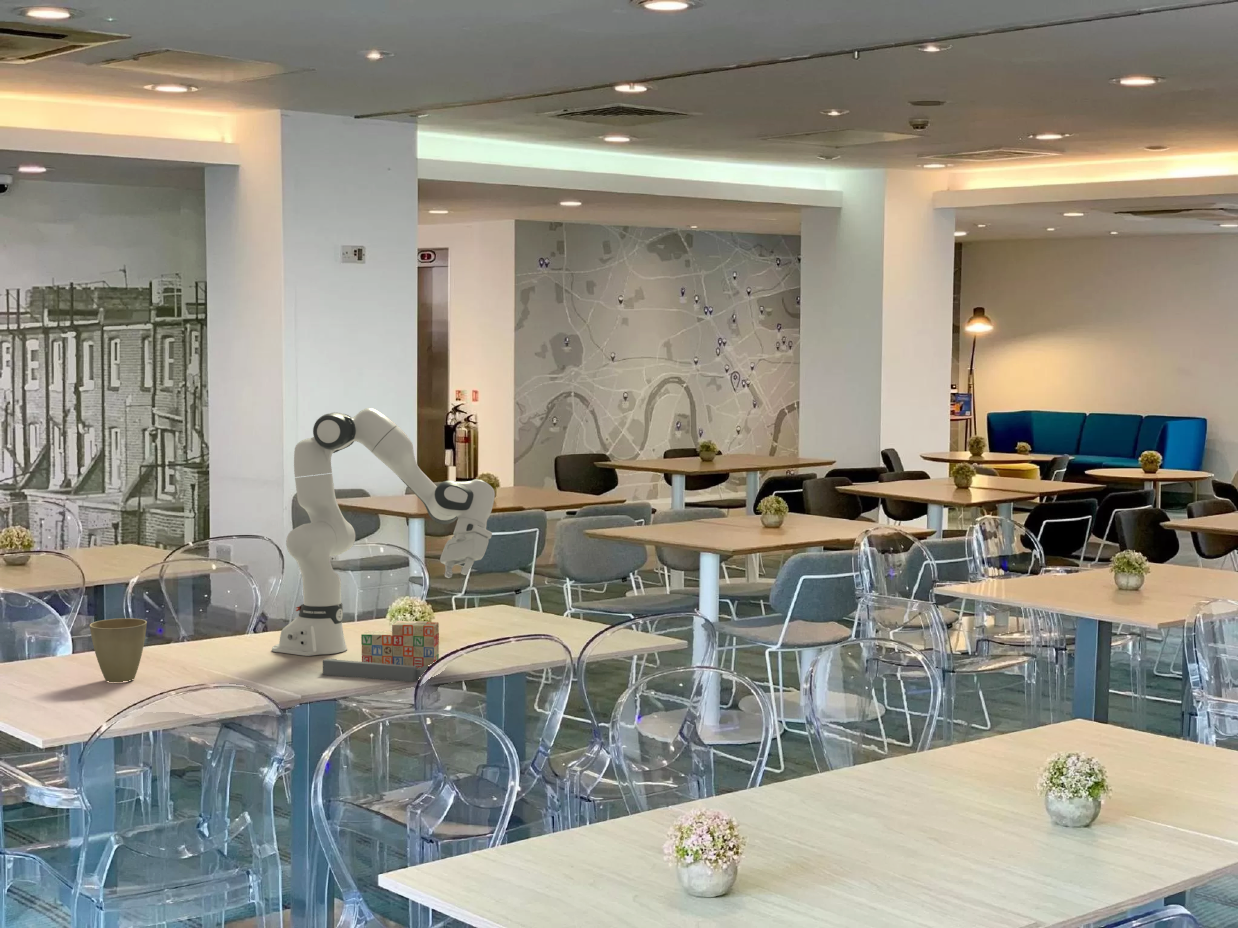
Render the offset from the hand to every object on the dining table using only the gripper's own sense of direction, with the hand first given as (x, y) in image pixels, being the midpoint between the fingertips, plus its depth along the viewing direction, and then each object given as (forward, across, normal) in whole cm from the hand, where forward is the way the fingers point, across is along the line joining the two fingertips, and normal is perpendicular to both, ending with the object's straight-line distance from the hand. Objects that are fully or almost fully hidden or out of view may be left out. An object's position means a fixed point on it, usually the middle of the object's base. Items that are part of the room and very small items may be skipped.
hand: (455, 575), depth 454 cm
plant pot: (+58, -31, -72) cm, 98 cm away
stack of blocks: (+30, -5, -6) cm, 31 cm away
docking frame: (+38, +4, -17) cm, 41 cm away
